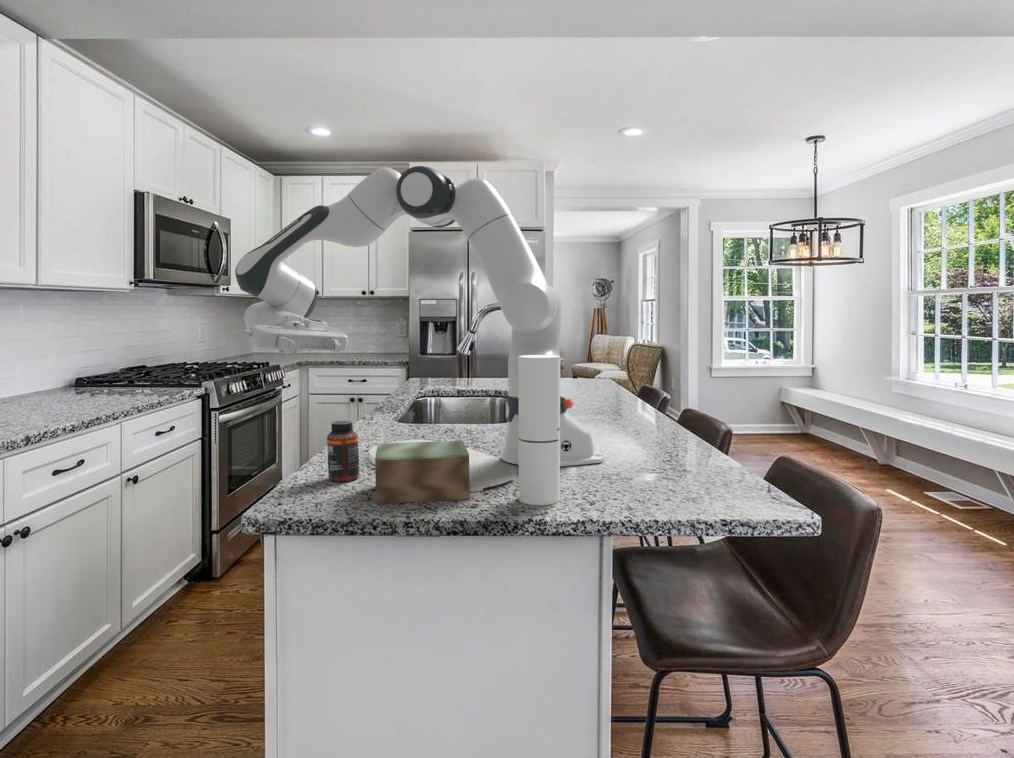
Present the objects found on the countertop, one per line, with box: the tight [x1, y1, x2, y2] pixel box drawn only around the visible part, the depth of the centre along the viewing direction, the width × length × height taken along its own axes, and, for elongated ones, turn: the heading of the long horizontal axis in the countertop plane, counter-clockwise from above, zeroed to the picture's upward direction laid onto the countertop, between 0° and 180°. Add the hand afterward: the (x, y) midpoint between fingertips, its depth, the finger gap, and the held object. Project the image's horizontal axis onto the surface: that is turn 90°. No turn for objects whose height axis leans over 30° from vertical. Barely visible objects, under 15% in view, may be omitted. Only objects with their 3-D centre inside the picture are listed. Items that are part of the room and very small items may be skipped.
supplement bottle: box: [326, 420, 360, 483], centre depth 125 cm, size 6×6×11 cm
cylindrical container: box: [518, 355, 561, 506], centre depth 110 cm, size 7×7×25 cm
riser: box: [374, 440, 471, 505], centre depth 116 cm, size 16×12×8 cm
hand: (317, 347), depth 131 cm, fingers open, 8 cm apart
